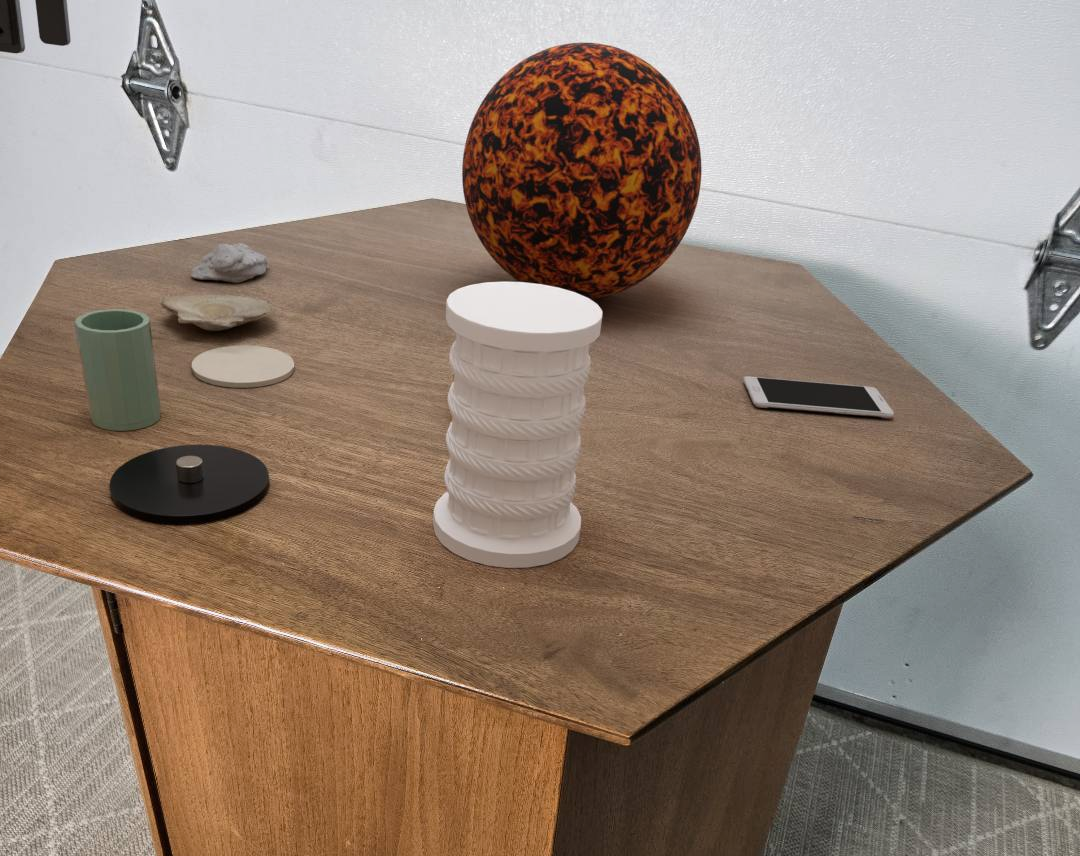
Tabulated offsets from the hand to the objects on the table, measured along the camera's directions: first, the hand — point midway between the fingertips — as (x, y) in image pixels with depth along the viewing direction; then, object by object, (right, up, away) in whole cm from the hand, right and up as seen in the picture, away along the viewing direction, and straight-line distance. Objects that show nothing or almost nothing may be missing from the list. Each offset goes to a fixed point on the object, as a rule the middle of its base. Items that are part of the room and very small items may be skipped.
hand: (33, 48), depth 77 cm
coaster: (+10, -21, +23) cm, 33 cm away
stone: (0, -5, +49) cm, 49 cm away
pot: (+2, -27, +11) cm, 30 cm away
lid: (+12, -34, +2) cm, 36 cm away
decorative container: (+37, -38, +1) cm, 53 cm away
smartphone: (+69, -23, +29) cm, 79 cm away
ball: (+43, -6, +54) cm, 69 cm away
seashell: (+4, -15, +33) cm, 36 cm away
